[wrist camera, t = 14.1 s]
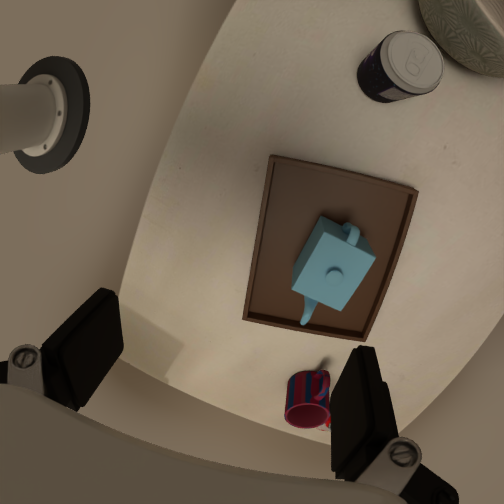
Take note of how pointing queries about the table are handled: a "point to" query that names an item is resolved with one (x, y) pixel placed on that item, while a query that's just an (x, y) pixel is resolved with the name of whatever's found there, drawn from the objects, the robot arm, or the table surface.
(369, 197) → the tray
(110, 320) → the robot arm
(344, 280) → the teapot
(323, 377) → the mug
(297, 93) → the table surface
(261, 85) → the table surface
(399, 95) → the beverage can
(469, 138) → the table surface
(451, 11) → the planter
